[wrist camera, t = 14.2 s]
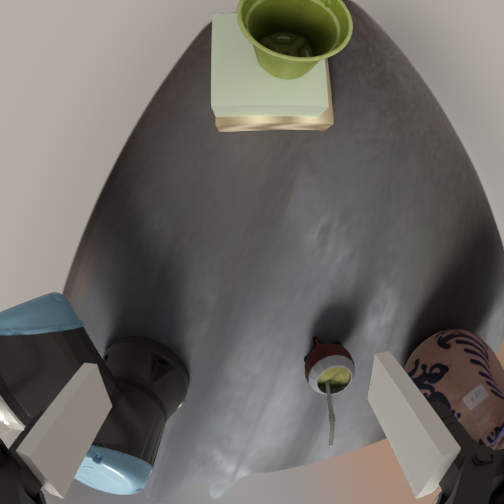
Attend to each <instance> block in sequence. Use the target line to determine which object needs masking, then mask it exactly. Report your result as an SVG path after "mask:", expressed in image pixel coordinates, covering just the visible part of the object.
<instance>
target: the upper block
mask: <svg viewBox="0 0 504 504" xmlns="http://www.w3.org/2000/svg"><path fill="white" fill-rule="evenodd" d="M212 17H213V18H212V54H211V107H212V109H213V112H214V114H215V116H216V117H234V116H303V117H319V116H320V115H321V114H322V113H323V112H324V111H325V110H326V109H327V108H328V107H329V104H328V89H327V77H326V66H325V59H323V60H320V61H319V62H318V63H317V64H316V65H315V66H314V67H313V68H312V69H311V70H310V71H309V72H308V73H306V74H305V75H303V76H302V77H299V78H296V79H281V78H277V77H274V76H272V75H271V74H269V73H268V72H266V71H265V70H264V69H263V68H262V67H261V66H260V65H259V63H258V60H257V57H256V54H255V51H254V47H253V44H252V43H251V42H250V41H249V40H248V39H247V38H246V37H245V36H244V34H243V33H242V31H241V29H240V27H239V24H238V21H237V13H222V14H213V15H212ZM277 39H290V38H289V37H286V36H279V37H277ZM305 52H306V57H310V56H309V53H308V51H307V50H305ZM284 55H287V56H288V53H287V52H284Z"/></svg>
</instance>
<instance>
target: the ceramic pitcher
mask: <svg viewBox="0 0 504 504" xmlns="http://www.w3.org/2000/svg"><path fill="white" fill-rule="evenodd" d="M404 371H405V372H406V373H407V374H408V376H409V377H410V378H411V380H412V381H413V382H414V384H415V385H416V386H417V388H418V389H419V390H420V392H421V393H422V394H423V396H424V397H425V398H426V400H427V401H428V403H431V402H434V401H437V400H438V401H440V402H442V403H443V404H445V405H446V406H448V407H449V409H450V410H451V411H452V413H453V414H454V416H456V418H457V419H458V422H460V423H461V424H462V426H463V427H464V428H465V429H466V431H467V432H468V433H469V435H470V436H471V437H472V439H473V440H474V441H475V443H476V444H477V445H485V446H488V447H490V448H491V449H493V450H498V449H503V448H504V370H503V368H502V366H501V364H500V362H499V360H498V359H497V357H496V356H495V354H494V352H493V351H492V350H491V348H490V347H489V346H488V345H487V344H486V343H485V342H484V341H483V340H482V339H481V338H480V337H479V336H477V335H476V334H474V333H472V332H470V331H467V330H462V329H449V330H445V331H441V332H439V333H436V334H434V335H432V336H431V337H429V338H428V339H426V340H425V341H423V342H422V343H421V344H420V345H419V346H418V347H417V348H416V349H415V350H414V351H413V353H412V354H411V356H410V358H409V359H408V361H407V363H406V365H405V367H404Z"/></svg>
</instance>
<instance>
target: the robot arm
mask: <svg viewBox="0 0 504 504" xmlns="http://www.w3.org/2000/svg"><path fill="white" fill-rule="evenodd" d="M83 326H84V323H83V322H82V321H80V320H79V318H78V316H77V315H76V313H75V311H74V309H73V308H72V306H71V304H70V302H69V301H68V299H67V298H66V297H65V296H64V295H62V294H60V293H55V292H53V293H49V294H46V295H43V296H40V297H38V298H35V299H32V300H30V301H27V302H25V303H22V304H19V305H17V306H14V307H12V308H9V309H7V310H5V311H2V312H0V504H46V501H45V498H44V494H43V493H42V491H41V490H40V489H41V487H42V486H44V487H45V488H46V489H47V490H48V491H49V493H51V494H53V495H56V496H58V497H61V498H64V497H65V495H66V493H67V491H68V489H69V487H70V485H71V483H72V481H73V479H74V478H75V479H77V480H79V481H80V482H82V483H84V484H86V485H89V486H91V487H93V488H96V489H98V490H101V491H105V492H108V493H113V494H121V495H128V494H135V493H137V492H139V491H141V490H142V489H143V488H144V487H145V485H146V483H147V480H148V478H149V475H150V474H151V472H152V471H153V466H154V462H155V458H156V455H157V451H158V448H159V444H160V441H161V438H162V434H163V431H164V427H165V424H166V421H167V420H168V418H169V417H170V416H171V415H172V414H173V413H174V412H175V411H176V410H177V409H178V408H179V407H180V406H181V405H182V403H183V402H184V400H185V397H186V394H187V391H188V385H189V381H188V375H187V372H186V370H185V368H184V366H183V364H182V363H181V361H180V360H179V359H178V358H177V356H176V355H175V354H174V353H172V352H171V351H170V350H169V349H167V348H166V347H165V346H163V345H161V344H159V343H157V342H155V341H153V340H150V339H146V338H142V337H126V338H122V339H120V340H118V341H116V342H114V343H113V344H112V345H111V346H110V347H109V349H108V350H107V351H106V352H105V354H104V356H103V358H101V356H100V354H99V353H98V351H97V349H96V348H95V346H94V344H93V343H92V341H91V339H90V337H89V336H88V334H87V332H86V330H85V329H84V327H83ZM367 399H368V401H369V403H370V405H371V407H372V409H373V411H374V413H375V415H376V417H377V419H378V421H379V423H380V425H381V427H382V429H383V431H384V433H385V435H386V437H387V439H388V441H389V443H390V445H391V447H392V449H393V451H394V453H395V455H396V457H397V460H398V462H399V464H400V466H401V468H402V470H403V472H404V474H405V476H406V479H407V481H408V483H409V485H410V487H411V489H412V492H413V494H414V496H415V498H416V499H417V498H420V497H422V496H425V495H428V494H430V493H432V492H434V490H435V489H436V488H437V486H438V485H440V486H441V489H442V491H441V492H440V494H439V495H438V496H437V498H436V499H435V501H434V502H433V504H435V503H436V502H437V503H436V504H504V448H503V449H498V450H493V449H491V448H490V447H488V446H485V445H477V444H476V443H475V441H474V440H473V439H472V437H471V436H470V435H469V433H468V432H467V431H466V429H465V428H464V427H463V426H462V424H461V423H460V422H458V419H457V418H456V416H454V414H453V413H452V411H451V410H450V409H449V407H448V406H446V405H445V404H443V403H442V402H440V401H438V400H437V401H434V402H431V403H428V401H427V400H426V398H425V397H424V396H423V394H422V393H421V392H420V390H419V389H418V388H417V386H416V385H415V384H414V382H413V381H412V380H411V378H410V377H409V376H408V374H407V373H406V372H405V371H404V369H403V368H402V367H401V365H400V364H399V363H398V361H397V360H396V359H395V358H394V356H393V355H392V354H391V352H390V351H388V352H382V353H377V354H375V357H374V363H373V370H372V375H371V381H370V387H369V392H368V397H367ZM12 429H18V430H21V431H22V432H21V433H20V435H19V436H18V438H17V439H16V440H15V441H14V443H13V444H12V445H11V447H10V448H9V449H8V448H7V447H6V446H5V444H4V443H3V441H2V440H1V437H2V436H4V435H5V434H6V433H8V432H9V431H11V430H12Z"/></svg>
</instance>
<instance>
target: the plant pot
mask: <svg viewBox="0 0 504 504" xmlns="http://www.w3.org/2000/svg"><path fill="white" fill-rule="evenodd" d="M237 21H238V24H239V27H240V29H241V31H242V33H243V34H244V36H245V37H246V38H247V39H248V40H249V41H250V42H251V43H252V44H253V47H254V51H255V54H256V57H257V60H258V63H259V65H260V66H261V67H262V68H263V69H264V70H265V71H266V72H268V73H269V74H271V75H272V76H274V77H277V78H281V79H296V78H299V77H302V76H303V75H305V74H306V73H308V72H309V71H310V70H311V69H312V68H313V67H314V66H315V65H316V64H317V63H318V62H319V61H320V60H323V59H326V58H329V57H331V56H333V55H335V54H336V53H338V52H339V51H341V50H342V49H343V48H344V47H345V46H346V45H347V43H348V42H349V40H350V38H351V35H352V30H353V24H352V19H351V15H350V13H349V11H348V9H347V7H346V6H345V4H344V3H343V2H342V1H341V0H240V1H239V4H238V7H237ZM279 36H286V37H289V38H290V39H277V37H279ZM305 50H307V51H308V53H309V56H310V57H306V52H305ZM284 52H287V53H288V56H287V55H284Z"/></svg>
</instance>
